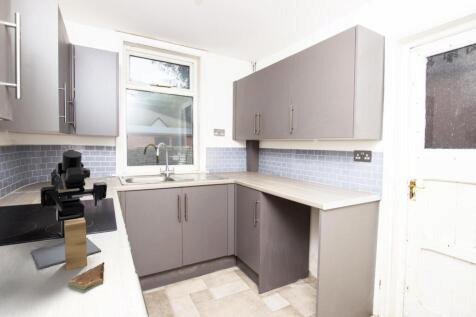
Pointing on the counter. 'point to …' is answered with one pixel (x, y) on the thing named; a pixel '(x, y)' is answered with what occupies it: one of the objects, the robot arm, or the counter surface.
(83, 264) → the wood block
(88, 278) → the shard
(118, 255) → the counter surface
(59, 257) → the slate mat
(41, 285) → the counter surface
